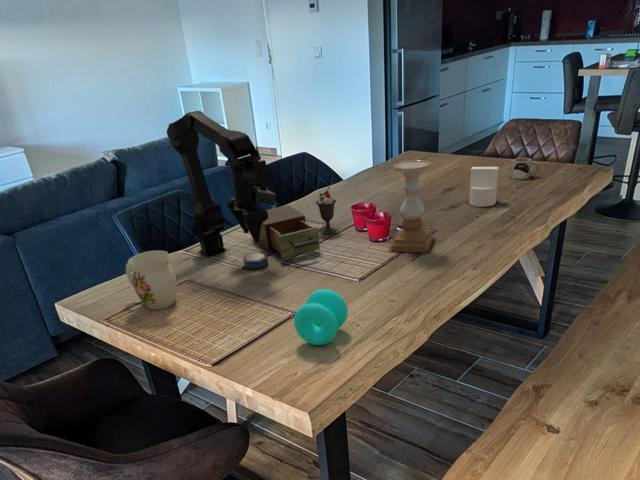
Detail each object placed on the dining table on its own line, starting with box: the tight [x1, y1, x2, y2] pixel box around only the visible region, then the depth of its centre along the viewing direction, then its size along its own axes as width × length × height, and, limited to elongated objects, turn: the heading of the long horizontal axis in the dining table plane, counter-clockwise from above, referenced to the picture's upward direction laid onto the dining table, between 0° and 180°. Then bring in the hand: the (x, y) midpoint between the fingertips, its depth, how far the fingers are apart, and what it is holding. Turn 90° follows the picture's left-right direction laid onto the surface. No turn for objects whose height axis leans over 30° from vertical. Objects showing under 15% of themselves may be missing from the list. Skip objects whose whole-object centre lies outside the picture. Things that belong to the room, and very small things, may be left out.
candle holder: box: [390, 159, 434, 253], centre depth 164 cm, size 11×11×24 cm
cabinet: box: [258, 204, 307, 252], centre depth 183 cm, size 14×14×9 cm
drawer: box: [267, 219, 321, 259], centre depth 172 cm, size 18×12×7 cm
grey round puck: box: [242, 252, 269, 270], centre depth 167 cm, size 7×7×3 cm
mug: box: [511, 157, 541, 181], centre depth 219 cm, size 10×7×7 cm, turn 73°
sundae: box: [315, 186, 337, 235], centre depth 184 cm, size 7×7×15 cm
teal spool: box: [293, 288, 349, 346], centre depth 125 cm, size 10×10×10 cm
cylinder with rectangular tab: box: [468, 166, 499, 208], centre depth 195 cm, size 9×9×12 cm
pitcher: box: [125, 249, 178, 310], centre depth 148 cm, size 11×18×14 cm, turn 59°
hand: (251, 237), depth 164 cm, fingers open, 9 cm apart
